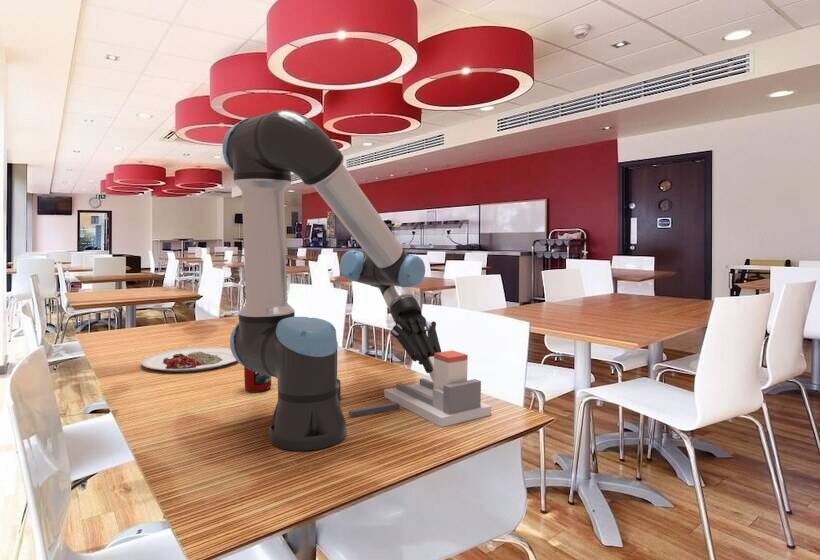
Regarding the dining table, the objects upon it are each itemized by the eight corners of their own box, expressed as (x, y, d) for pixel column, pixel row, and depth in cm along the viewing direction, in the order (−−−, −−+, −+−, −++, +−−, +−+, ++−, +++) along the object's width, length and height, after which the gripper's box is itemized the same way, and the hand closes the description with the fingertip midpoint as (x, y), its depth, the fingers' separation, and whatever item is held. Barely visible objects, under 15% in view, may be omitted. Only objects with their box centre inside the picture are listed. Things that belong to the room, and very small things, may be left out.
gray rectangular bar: (351, 419, 112) (351, 412, 112) (348, 417, 113) (348, 410, 113) (399, 410, 118) (399, 403, 118) (395, 408, 119) (395, 401, 119)
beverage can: (263, 393, 129) (262, 347, 128) (239, 392, 130) (238, 346, 129) (275, 386, 135) (275, 342, 134) (252, 384, 137) (252, 341, 136)
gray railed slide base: (384, 397, 126) (384, 366, 126) (429, 388, 134) (430, 359, 133) (441, 427, 106) (441, 390, 106) (491, 414, 114) (491, 380, 113)
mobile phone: (329, 377, 128) (320, 393, 113) (341, 377, 128) (334, 393, 113) (329, 396, 128) (320, 415, 113) (341, 396, 128) (334, 415, 113)
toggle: (433, 400, 116) (434, 353, 115) (452, 397, 119) (452, 350, 118) (447, 407, 111) (448, 357, 110) (466, 403, 114) (467, 354, 113)
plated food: (243, 350, 181) (243, 340, 180) (243, 370, 152) (243, 359, 152) (150, 355, 171) (150, 345, 171) (132, 378, 143) (131, 367, 143)
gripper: (417, 311, 137) (454, 386, 124) (375, 315, 130) (410, 395, 117) (428, 294, 132) (469, 370, 119) (386, 296, 125) (423, 378, 112)
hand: (440, 382), depth 118 cm, fingers closed
